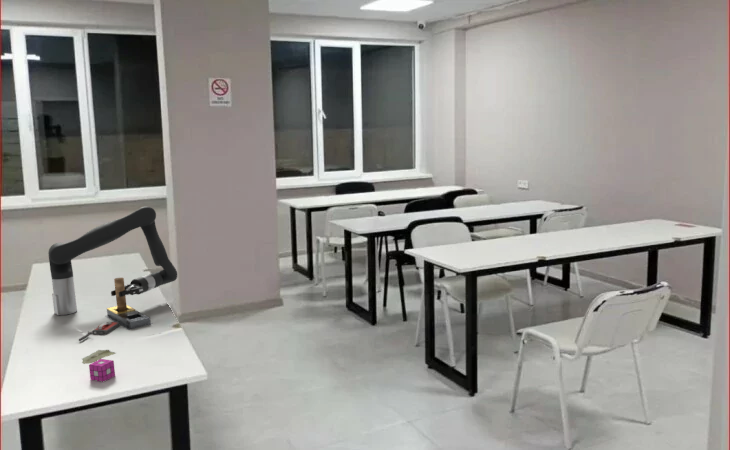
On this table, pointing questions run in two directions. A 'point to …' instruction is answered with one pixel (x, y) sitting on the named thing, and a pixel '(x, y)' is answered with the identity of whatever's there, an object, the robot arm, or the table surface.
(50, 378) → the table surface
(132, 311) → the socket rail
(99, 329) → the walkie-talkie
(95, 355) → the topographic map
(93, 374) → the puzzle toy
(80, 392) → the table surface
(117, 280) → the walnut peg
